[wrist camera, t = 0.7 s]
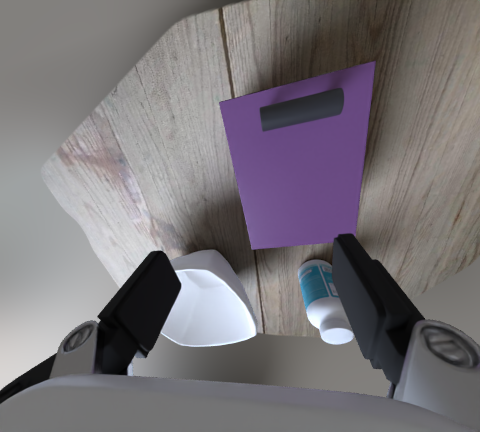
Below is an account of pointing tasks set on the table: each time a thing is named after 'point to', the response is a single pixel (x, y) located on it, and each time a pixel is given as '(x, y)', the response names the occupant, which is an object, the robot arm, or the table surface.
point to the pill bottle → (324, 302)
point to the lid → (301, 156)
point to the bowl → (209, 303)
